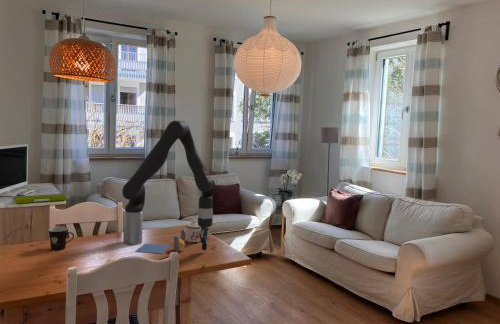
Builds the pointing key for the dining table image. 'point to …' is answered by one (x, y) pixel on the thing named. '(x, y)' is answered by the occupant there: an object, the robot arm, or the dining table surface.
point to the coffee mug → (58, 238)
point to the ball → (180, 245)
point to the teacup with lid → (193, 232)
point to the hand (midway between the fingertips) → (204, 249)
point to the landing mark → (153, 248)
